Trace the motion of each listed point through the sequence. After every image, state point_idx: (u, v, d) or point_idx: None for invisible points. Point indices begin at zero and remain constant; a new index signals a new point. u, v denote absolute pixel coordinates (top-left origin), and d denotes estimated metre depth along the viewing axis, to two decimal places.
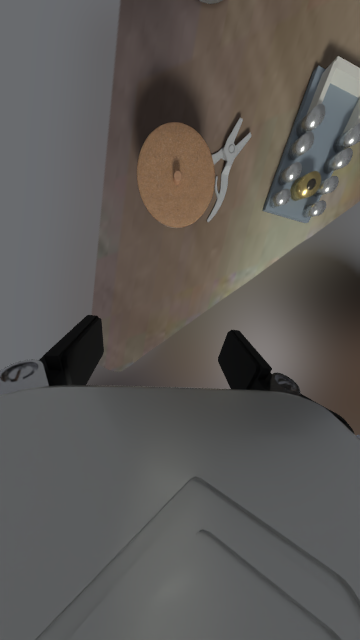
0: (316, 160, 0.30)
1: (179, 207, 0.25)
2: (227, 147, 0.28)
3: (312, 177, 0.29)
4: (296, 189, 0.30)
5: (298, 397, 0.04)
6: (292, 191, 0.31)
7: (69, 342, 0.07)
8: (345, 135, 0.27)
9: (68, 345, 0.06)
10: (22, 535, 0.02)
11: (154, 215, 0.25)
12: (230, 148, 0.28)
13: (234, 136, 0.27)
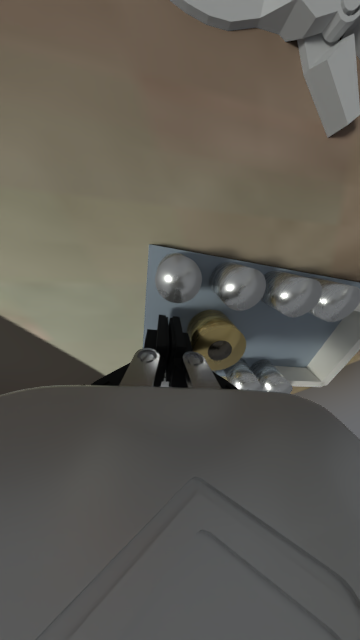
0: None
1: None
2: None
3: (233, 347, 0.11)
4: (210, 319, 0.11)
5: (298, 397, 0.04)
6: (205, 314, 0.12)
7: (165, 335, 0.08)
8: (276, 373, 0.14)
9: (166, 337, 0.08)
10: (22, 535, 0.02)
11: None
12: None
13: None
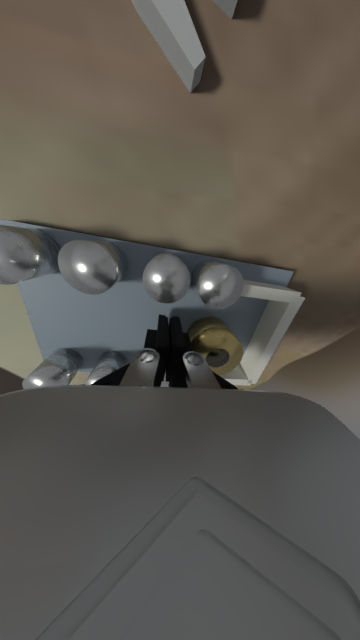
0: None
1: None
2: None
3: (231, 355, 0.11)
4: (209, 326, 0.11)
5: (298, 397, 0.04)
6: (205, 321, 0.12)
7: (165, 335, 0.08)
8: None
9: (165, 337, 0.08)
10: (22, 535, 0.02)
11: None
12: None
13: None
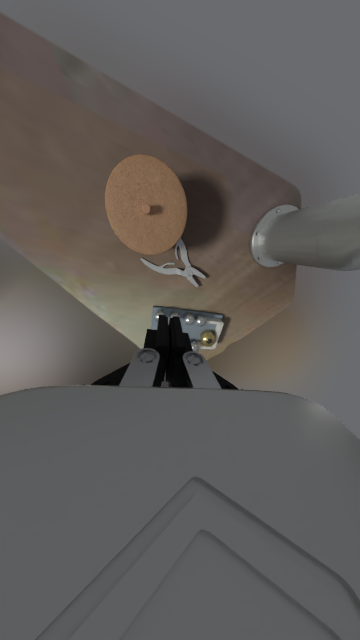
0: None
1: (125, 215, 0.22)
2: (190, 269, 0.35)
3: (212, 340, 0.42)
4: (207, 332, 0.42)
5: (298, 397, 0.04)
6: (205, 331, 0.43)
7: (165, 335, 0.08)
8: (194, 343, 0.43)
9: (166, 337, 0.08)
10: (22, 535, 0.02)
11: (109, 178, 0.20)
12: (190, 272, 0.35)
13: (196, 274, 0.35)
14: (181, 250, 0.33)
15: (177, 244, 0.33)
